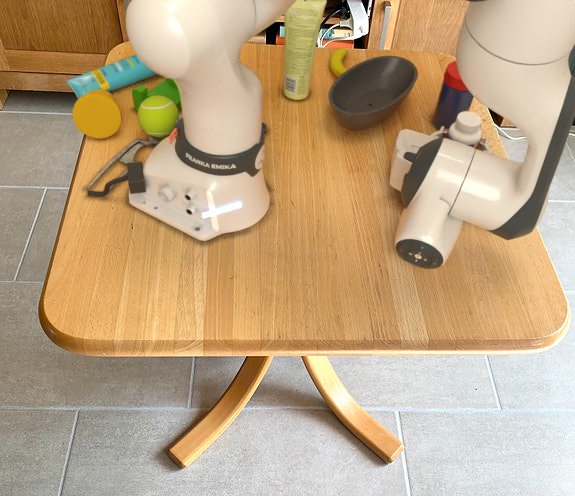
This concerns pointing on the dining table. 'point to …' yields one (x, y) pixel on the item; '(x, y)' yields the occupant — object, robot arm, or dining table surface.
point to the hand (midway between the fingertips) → (464, 135)
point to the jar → (450, 105)
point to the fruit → (338, 61)
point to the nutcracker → (127, 156)
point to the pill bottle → (466, 129)
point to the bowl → (371, 91)
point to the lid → (454, 77)
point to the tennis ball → (158, 116)
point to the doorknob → (97, 114)
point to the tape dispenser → (157, 93)
